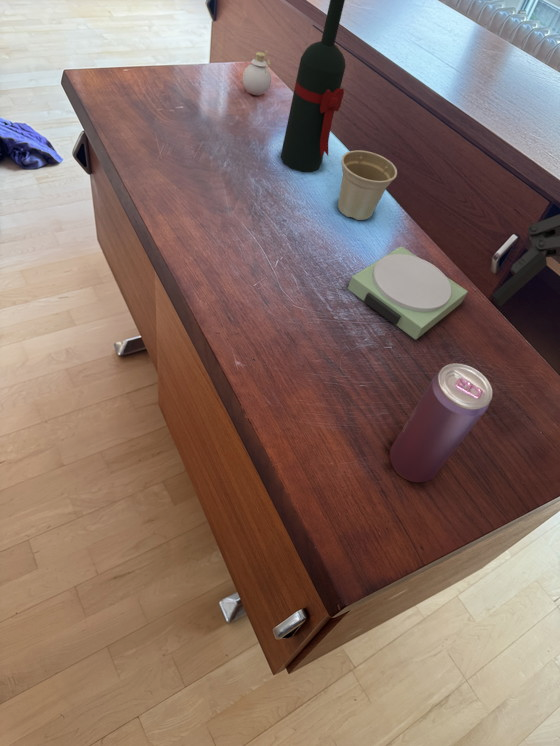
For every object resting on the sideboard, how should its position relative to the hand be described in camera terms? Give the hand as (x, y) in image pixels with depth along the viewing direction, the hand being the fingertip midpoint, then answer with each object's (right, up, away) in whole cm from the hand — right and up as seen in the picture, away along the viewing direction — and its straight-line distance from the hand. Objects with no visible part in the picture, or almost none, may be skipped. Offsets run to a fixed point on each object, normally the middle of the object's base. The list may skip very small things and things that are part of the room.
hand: (541, 344), depth 59 cm
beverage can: (-12, -14, +8) cm, 20 cm away
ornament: (-32, +56, +62) cm, 90 cm away
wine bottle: (-23, +36, +48) cm, 64 cm away
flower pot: (-14, +26, +41) cm, 50 cm away
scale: (-8, +9, +28) cm, 30 cm away
